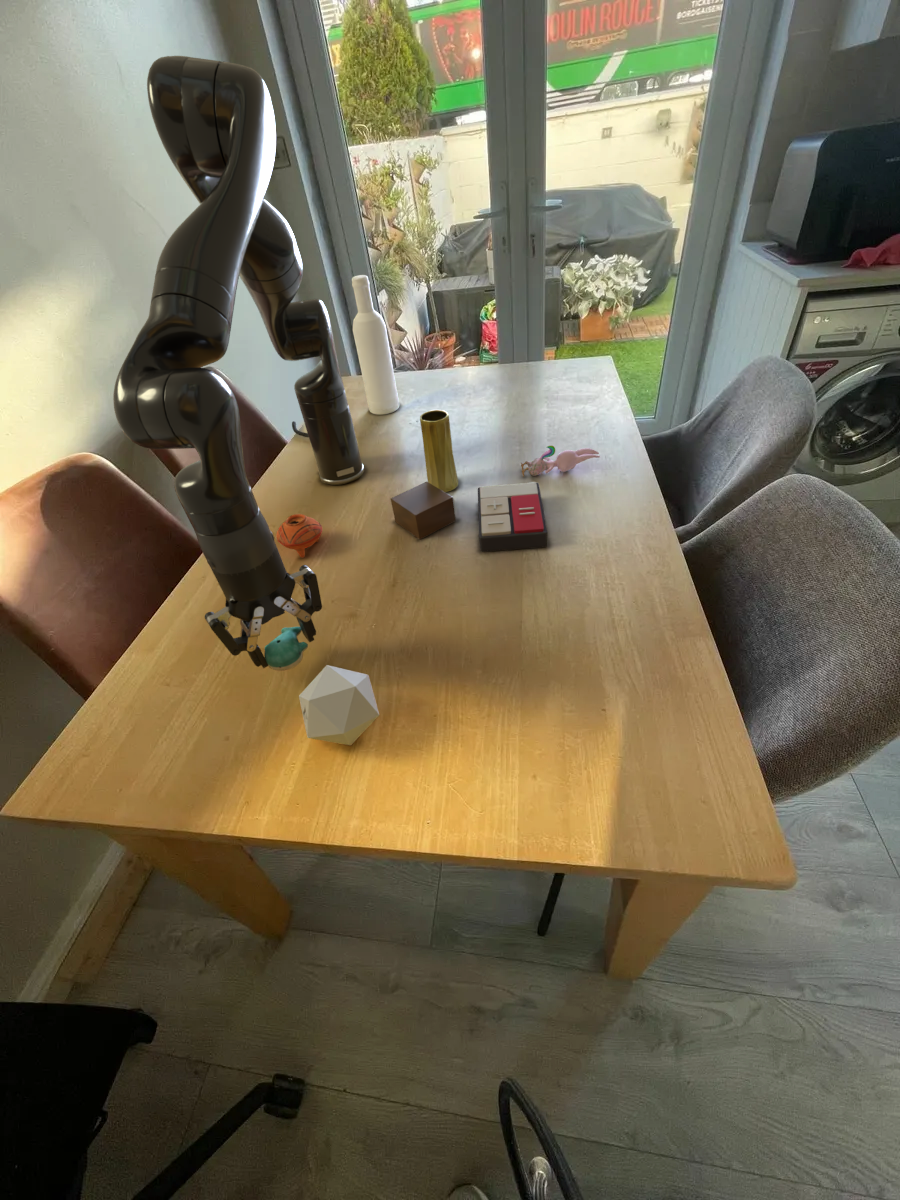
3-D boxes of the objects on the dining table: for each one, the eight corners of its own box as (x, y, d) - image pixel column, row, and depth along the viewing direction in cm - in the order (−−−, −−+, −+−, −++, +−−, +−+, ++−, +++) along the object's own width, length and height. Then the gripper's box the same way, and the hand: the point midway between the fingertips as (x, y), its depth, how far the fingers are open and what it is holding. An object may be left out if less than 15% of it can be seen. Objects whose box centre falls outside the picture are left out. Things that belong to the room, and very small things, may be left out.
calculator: (478, 534, 88) (477, 483, 99) (480, 555, 91) (478, 503, 102) (547, 529, 87) (538, 478, 98) (547, 550, 90) (538, 498, 101)
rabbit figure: (524, 487, 107) (603, 470, 104) (518, 460, 103) (600, 441, 100) (522, 472, 112) (597, 455, 109) (517, 445, 108) (594, 427, 105)
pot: (271, 559, 95) (262, 522, 92) (297, 543, 102) (290, 507, 99) (310, 563, 93) (302, 525, 90) (334, 546, 99) (328, 510, 96)
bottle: (398, 413, 138) (374, 278, 119) (367, 416, 139) (339, 282, 119) (401, 400, 144) (378, 270, 125) (371, 404, 145) (344, 274, 125)
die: (331, 694, 72) (273, 683, 64) (384, 663, 69) (330, 648, 61) (346, 756, 68) (286, 753, 60) (402, 726, 66) (348, 719, 57)
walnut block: (395, 522, 101) (390, 498, 97) (430, 504, 104) (426, 481, 101) (419, 539, 96) (415, 515, 92) (456, 521, 99) (453, 496, 95)
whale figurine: (260, 675, 71) (250, 656, 69) (275, 635, 77) (266, 615, 74) (304, 673, 71) (295, 653, 68) (315, 632, 76) (308, 612, 74)
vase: (455, 493, 106) (447, 422, 97) (424, 493, 107) (413, 423, 98) (461, 477, 110) (453, 408, 101) (431, 477, 112) (421, 409, 102)
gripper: (285, 511, 67) (321, 611, 79) (169, 563, 62) (225, 662, 73) (312, 537, 63) (346, 639, 74) (189, 596, 57) (246, 696, 68)
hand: (286, 650), depth 73 cm, fingers closed on whale figurine, 6 cm apart
